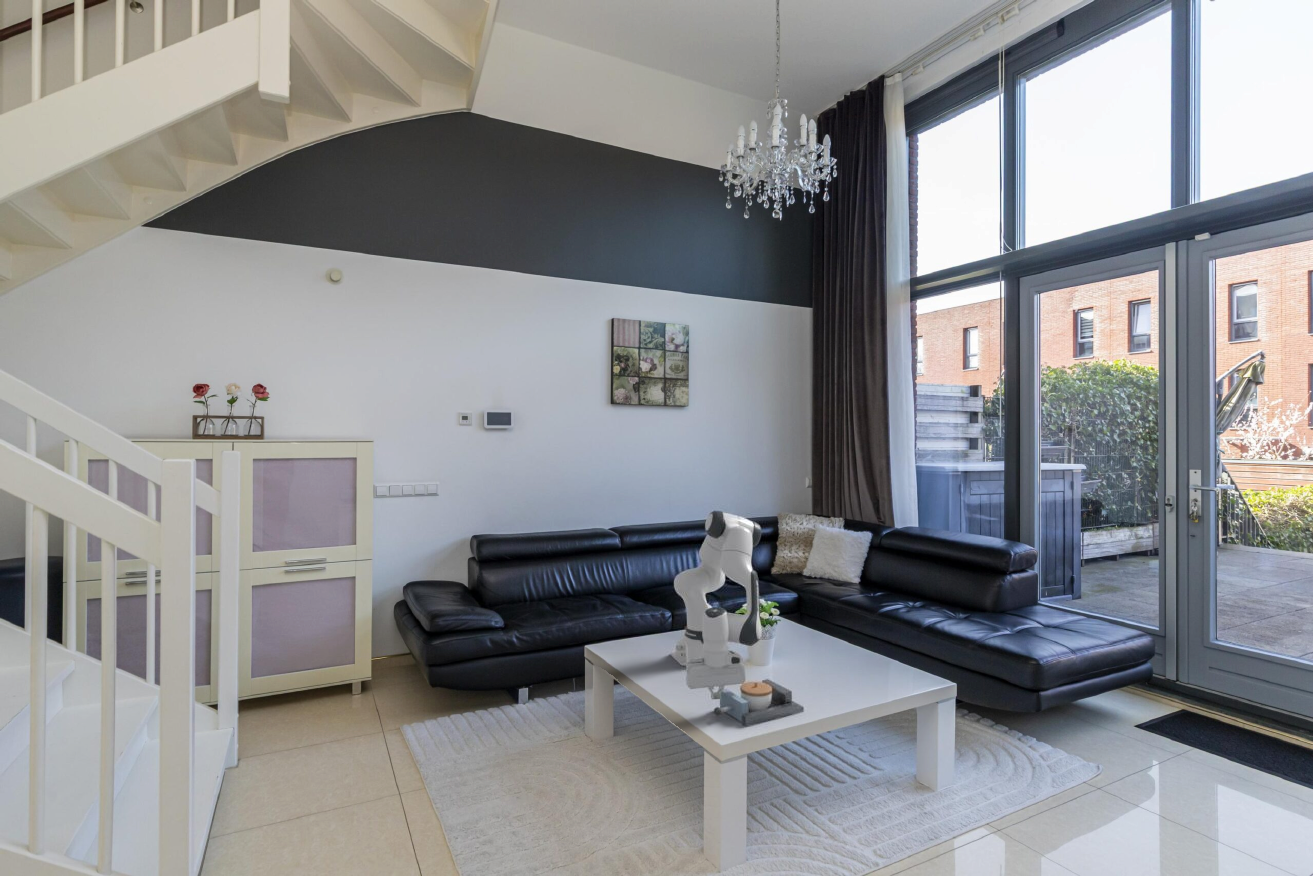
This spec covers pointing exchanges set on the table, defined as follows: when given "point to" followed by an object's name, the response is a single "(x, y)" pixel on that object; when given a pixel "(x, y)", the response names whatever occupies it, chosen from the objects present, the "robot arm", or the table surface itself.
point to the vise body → (782, 703)
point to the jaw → (732, 705)
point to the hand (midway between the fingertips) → (716, 698)
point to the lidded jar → (756, 695)
